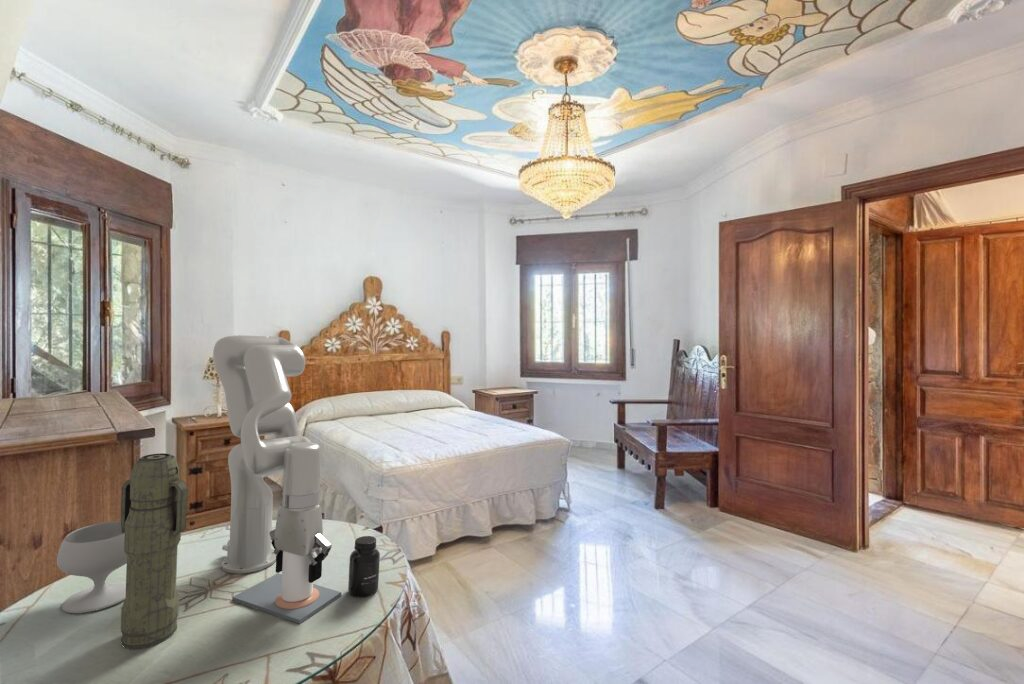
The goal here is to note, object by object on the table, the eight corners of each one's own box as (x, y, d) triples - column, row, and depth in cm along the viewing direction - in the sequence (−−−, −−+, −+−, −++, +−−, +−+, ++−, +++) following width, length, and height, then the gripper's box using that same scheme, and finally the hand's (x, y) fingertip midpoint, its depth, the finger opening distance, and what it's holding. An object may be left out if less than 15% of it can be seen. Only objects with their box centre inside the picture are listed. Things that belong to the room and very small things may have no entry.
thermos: (169, 648, 88) (175, 462, 88) (100, 651, 87) (106, 461, 87) (195, 620, 97) (201, 451, 97) (132, 622, 96) (139, 450, 96)
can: (289, 587, 109) (291, 536, 109) (317, 588, 109) (319, 536, 109) (275, 603, 103) (277, 548, 103) (305, 603, 103) (307, 548, 103)
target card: (232, 600, 105) (232, 596, 105) (277, 576, 116) (277, 572, 116) (299, 623, 97) (300, 619, 97) (341, 595, 108) (341, 591, 108)
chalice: (114, 578, 112) (116, 515, 112) (154, 590, 108) (156, 525, 108) (39, 608, 99) (41, 537, 99) (81, 624, 95) (83, 549, 95)
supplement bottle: (369, 600, 107) (371, 547, 107) (342, 596, 108) (344, 544, 108) (383, 585, 113) (385, 535, 113) (357, 581, 115) (359, 532, 115)
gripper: (258, 497, 105) (255, 573, 105) (318, 510, 99) (314, 592, 99) (286, 488, 112) (283, 559, 112) (343, 500, 106) (340, 576, 106)
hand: (298, 574), depth 105 cm, fingers open, 9 cm apart
